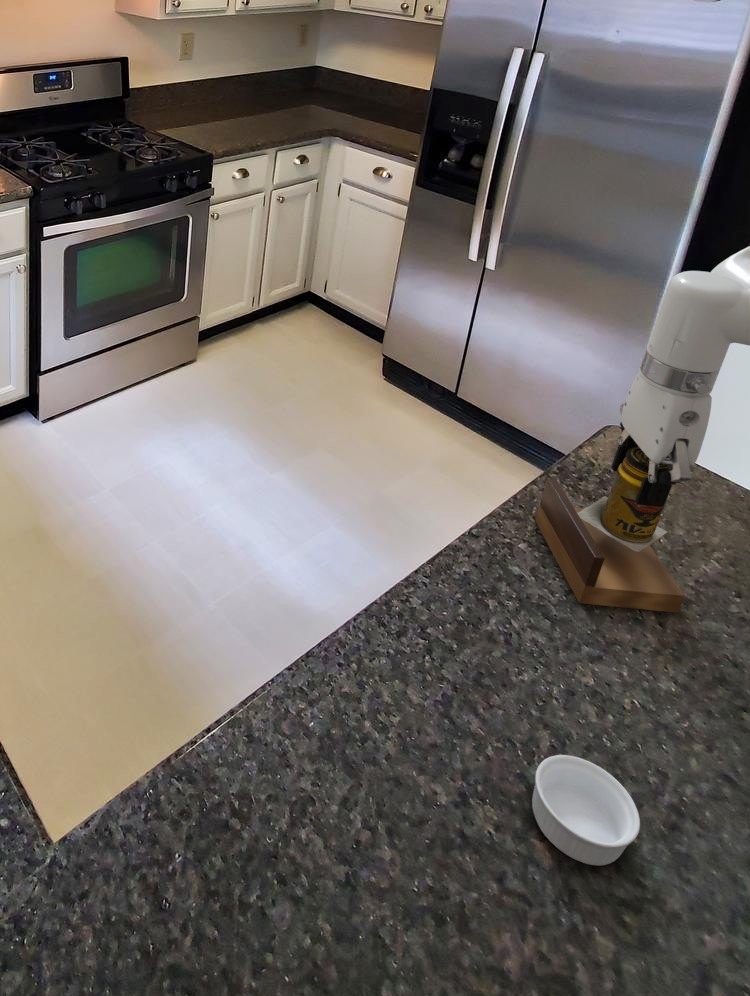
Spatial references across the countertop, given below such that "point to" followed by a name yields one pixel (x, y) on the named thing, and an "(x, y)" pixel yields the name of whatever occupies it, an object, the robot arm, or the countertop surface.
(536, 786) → the ramekin
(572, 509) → the shelf
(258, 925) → the countertop surface
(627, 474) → the condiment
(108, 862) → the countertop surface
